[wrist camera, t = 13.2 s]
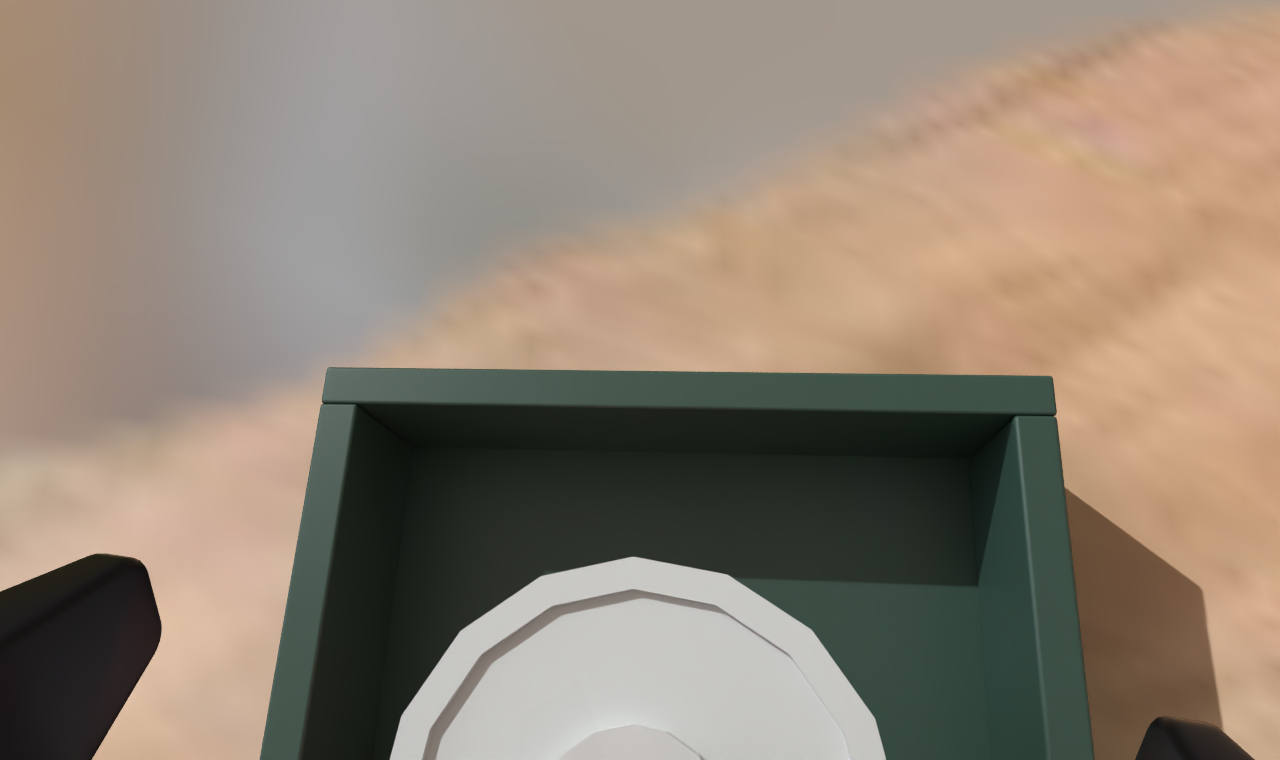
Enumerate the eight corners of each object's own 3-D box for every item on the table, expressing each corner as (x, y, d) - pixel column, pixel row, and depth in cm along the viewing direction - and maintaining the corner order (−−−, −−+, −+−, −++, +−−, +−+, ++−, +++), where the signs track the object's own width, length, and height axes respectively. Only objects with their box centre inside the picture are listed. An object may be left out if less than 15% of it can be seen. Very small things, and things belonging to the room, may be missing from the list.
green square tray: (1060, 1207, 16) (1165, 1371, 12) (296, 1124, 18) (173, 1247, 14) (993, 433, 21) (1054, 374, 17) (396, 421, 22) (325, 366, 18)
